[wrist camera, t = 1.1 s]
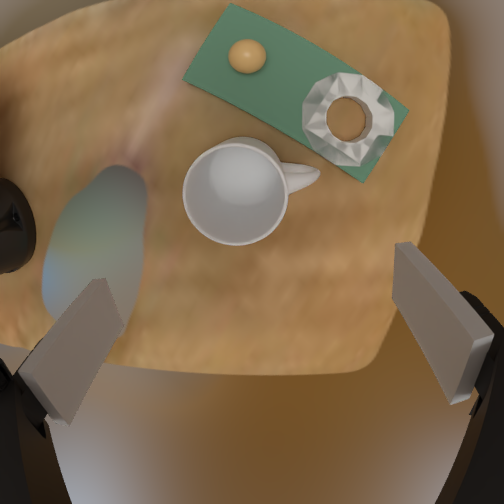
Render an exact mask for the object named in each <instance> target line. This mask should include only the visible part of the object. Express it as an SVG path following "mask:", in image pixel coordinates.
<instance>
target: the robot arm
mask: <svg viewBox="0 0 504 504" xmlns="http://www.w3.org/2000/svg"><path fill="white" fill-rule="evenodd" d="M35 241H36V232H35V224H34V219H33V216H32V212H31V210H30V207H29V205H28V203H27V201H26V199H25V197H24V195H23V194H22V193H21V191H20V190H19V189H18V188H17V187H16V186H15V185H14V184H13V183H12V182H10V181H9V180H7V179H4V178H0V274H3V273H11V272H14V271H16V270H18V269H20V268H21V267H22V266H23V265H25V264H26V263H27V262H28V261H29V260H30V258H31V257H32V255H33V252H34V248H35ZM392 299H393V301H394V303H395V304H396V306H397V308H398V309H399V311H400V313H401V314H402V316H403V318H404V319H405V321H406V323H407V324H408V326H409V328H410V330H411V332H412V333H413V335H414V337H415V339H416V340H417V342H418V344H419V346H420V348H421V349H422V351H423V353H424V355H425V356H426V359H427V361H428V362H429V364H430V366H431V368H432V370H433V372H434V374H435V375H436V378H437V380H438V382H439V384H440V385H441V387H442V389H443V391H444V393H445V395H446V398H447V400H448V401H449V404H450V405H451V404H454V403H457V402H460V401H463V400H466V399H469V397H470V395H471V393H472V390H473V388H474V386H475V388H476V390H477V391H478V393H479V396H478V398H477V400H476V402H475V404H474V406H473V408H472V410H471V412H470V414H469V415H472V416H471V419H470V422H469V425H468V428H467V431H466V434H465V436H464V439H463V442H462V444H461V447H460V450H459V452H458V454H457V457H456V459H455V462H454V464H453V466H452V469H451V471H450V473H449V476H448V478H447V480H446V482H445V484H444V486H443V488H442V491H441V492H440V495H439V496H438V499H437V500H436V502H435V504H504V327H503V326H502V325H501V324H500V323H499V322H498V320H497V319H496V318H495V317H494V316H493V315H492V314H491V313H490V311H489V310H488V309H487V308H486V307H484V305H483V303H481V301H480V300H479V299H478V298H477V297H476V296H474V295H472V294H471V293H469V292H467V291H463V292H458V291H457V290H456V288H455V287H454V286H453V285H452V284H451V283H450V282H449V281H448V280H447V279H446V278H445V277H444V275H443V274H442V273H441V272H440V271H439V270H438V269H437V268H436V267H435V266H434V265H433V264H432V263H431V262H430V261H429V260H428V259H427V258H426V257H425V256H424V255H423V254H422V253H421V252H420V251H419V250H418V249H417V248H416V247H415V246H414V245H413V244H412V243H411V242H404V243H396V244H395V257H394V276H393V290H392ZM123 327H124V324H123V322H122V319H121V318H120V315H119V313H118V310H117V307H116V305H115V302H114V299H113V297H112V294H111V292H110V289H109V286H108V284H107V281H106V278H102V279H94V280H92V281H91V282H90V283H89V284H88V286H87V287H86V288H85V289H84V290H83V291H82V292H81V294H80V295H79V296H78V297H77V298H76V299H75V300H74V301H73V303H72V304H71V305H70V306H69V307H68V308H67V310H66V311H65V312H64V313H63V314H62V316H61V317H60V318H59V319H58V320H57V322H56V323H55V324H54V325H53V326H52V328H51V329H50V330H49V331H48V333H47V334H46V335H45V336H44V338H42V339H41V340H40V341H39V342H38V343H37V345H36V346H35V347H34V350H32V351H31V352H30V354H29V356H27V358H26V359H25V360H24V362H23V363H22V364H21V366H20V367H19V368H18V370H17V371H16V372H15V374H14V375H13V376H12V374H11V373H10V371H9V370H8V368H7V366H6V365H5V363H4V362H3V360H2V359H1V358H0V504H72V502H71V500H70V497H69V494H68V491H67V488H66V485H65V483H64V480H63V476H62V473H61V470H60V467H59V464H58V460H57V456H56V453H55V449H54V445H53V442H52V438H51V433H50V429H49V425H48V424H47V422H46V421H45V419H44V418H45V417H46V415H47V413H48V414H49V416H50V417H51V419H52V420H53V421H54V422H55V423H56V424H61V425H65V426H70V424H71V422H72V420H73V418H74V416H75V414H76V412H77V411H78V409H79V407H80V405H81V403H82V400H83V399H84V397H85V395H86V393H87V391H88V389H89V387H90V385H91V384H92V382H93V380H94V378H95V376H96V374H97V373H98V370H99V369H100V367H101V365H102V364H103V362H104V360H105V358H106V356H107V355H108V353H109V351H110V349H111V347H112V346H113V344H114V342H115V340H116V339H117V337H118V335H119V334H120V332H121V330H122V328H123Z"/></svg>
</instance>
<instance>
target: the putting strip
mask: <svg viewBox="0 0 504 504" xmlns="http://www.w3.org/2000/svg"><path fill="white" fill-rule="evenodd" d="M243 39H252V40H255V41H257V42H259V43H260V44H261V45H262V46H263V47H264V49H265V51H266V61H265V63H264V65H263V67H262V68H261V69H259V70H258V71H256V72H254V73H248V74H246V73H241V72H238V71H236V70H235V69H234V68H233V67H232V66H231V64H230V62H229V59H228V54H229V50H230V48H231V47H232V45H233V44H235V43H236V42H237V41H240V40H243ZM182 80H184V81H186V82H188V83H190V84H192V85H194V86H197V87H199V88H201V89H203V90H205V91H207V92H209V93H211V94H213V95H215V96H217V97H219V98H221V99H223V100H225V101H227V102H229V103H231V104H233V105H235V106H236V107H238V108H240V109H242V110H244V111H246V112H248V113H250V114H251V115H253V116H255V117H257V118H259V119H260V120H262V121H264V122H266V123H268V124H269V125H271V126H273V127H275V128H276V129H278V130H280V131H281V132H283V133H285V134H287V135H288V136H290V137H292V138H293V139H295V140H297V141H298V142H300V143H302V144H303V145H305V146H306V147H308V148H310V149H311V150H313V151H315V152H316V153H318V154H319V155H321V156H322V157H324V158H326V159H327V160H329V161H330V162H332V163H333V164H335V165H336V166H338V167H339V168H341V169H342V170H344V171H345V172H347V173H348V174H350V175H351V176H353V177H354V178H356V179H357V180H359V181H360V182H361V183H364V182H365V180H366V178H367V177H368V175H369V174H370V172H371V171H372V169H373V168H374V166H375V165H376V163H377V162H378V160H379V158H380V157H381V155H382V154H383V152H384V151H385V149H386V147H387V146H388V144H389V143H390V141H391V139H392V138H393V136H394V135H395V133H396V131H397V130H398V128H399V127H400V125H401V123H402V122H403V120H404V118H405V117H406V115H407V113H408V112H409V110H408V109H407V108H406V107H405V106H403V105H402V104H401V103H400V102H398V101H397V100H396V99H395V98H393V97H392V96H391V95H389V94H388V93H387V92H386V91H384V90H383V89H381V88H380V87H379V86H377V85H376V84H375V83H373V82H372V81H371V80H369V79H368V78H366V77H365V76H363V75H362V74H361V73H359V72H358V71H356V70H355V69H353V68H352V67H350V66H349V65H347V64H346V63H344V62H342V61H341V60H339V59H338V58H336V57H335V56H333V55H331V54H330V53H328V52H326V51H325V50H323V49H322V48H320V47H318V46H316V45H315V44H313V43H311V42H309V41H308V40H306V39H304V38H302V37H301V36H299V35H297V34H295V33H293V32H291V31H289V30H288V29H286V28H284V27H282V26H280V25H278V24H276V23H274V22H272V21H270V20H268V19H265V18H263V17H261V16H259V15H257V14H255V13H253V12H250V11H248V10H246V9H244V8H241V7H239V6H237V5H234V4H232V3H230V4H229V5H228V7H227V8H226V10H225V11H224V13H223V14H222V16H221V17H220V19H219V20H218V22H217V23H216V25H215V26H214V28H213V29H212V31H211V32H210V34H209V35H208V37H207V38H206V40H205V42H204V43H203V45H202V46H201V48H200V50H199V51H198V53H197V55H196V56H195V58H194V60H193V61H192V63H191V65H190V66H189V68H188V70H187V72H186V73H185V75H184V77H183V79H182ZM340 97H345V98H351V99H353V100H354V101H356V102H357V103H358V104H360V105H361V107H362V109H363V111H364V113H365V115H366V126H365V128H364V130H363V132H362V133H361V135H360V136H359V137H357V138H355V139H353V140H351V141H341V140H339V139H338V138H336V137H334V136H333V135H332V133H331V132H330V130H329V128H328V126H327V124H326V115H327V110H328V108H329V106H330V105H331V103H332V102H333V101H334V100H336V99H338V98H340Z"/></svg>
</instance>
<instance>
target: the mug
mask: <svg viewBox="0 0 504 504" xmlns="http://www.w3.org/2000/svg"><path fill="white" fill-rule="evenodd" d="M319 176H320V171H319V170H318V169H316V168H314V167H311V166H308V165H302V164H294V163H283V162H280V160H279V158H278V156H277V155H276V153H275V152H274V151H273V150H272V148H271V147H269V146H268V145H267V144H266V143H264V142H262V141H260V140H258V139H255V138H252V137H234V138H231V139H228V140H225V141H224V142H222V143H220V144H218V145H216V146H214V147H213V148H211V149H209V150H207V151H205V152H204V153H203V154H201V155H200V156H199V157H198V158H197V159H196V160H195V161H194V162H193V164H192V165H191V166H190V168H189V170H188V172H187V174H186V176H185V179H184V183H183V203H184V207H185V211H186V213H187V215H188V217H189V219H190V221H191V222H192V224H193V225H194V226H195V227H196V228H197V229H198V230H199V231H200V232H201V233H202V234H203V235H205V236H206V237H208V238H209V239H211V240H213V241H216V242H218V243H221V244H226V245H234V246H239V245H247V244H251V243H254V242H257V241H259V240H261V239H263V238H265V237H266V236H268V235H269V234H270V233H271V232H273V231H274V230H275V228H276V227H277V226H278V225H279V223H280V222H281V220H282V218H283V217H284V214H285V212H286V209H287V204H288V195H289V194H291V193H293V192H296V191H298V190H300V189H302V188H304V187H307V186H308V185H310V184H312V183H313V182H315V181H316V180H317V179H318V178H319Z"/></svg>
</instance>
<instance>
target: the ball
mask: <svg viewBox="0 0 504 504" xmlns="http://www.w3.org/2000/svg"><path fill="white" fill-rule="evenodd" d="M228 59H229V62H230V64H231V66H232V67H233V68H234V69H235V70H236V71H238V72H241V73H246V74H248V73H254V72H256V71H258V70H259V69H261V68H262V67H263V65H264V63H265V61H266V51H265V49H264V47H263V46H262V45H261V44H260V43H259V42H257V41H255V40H252V39H243V40H240V41H237V42H236V43H235V44H233V45H232V47H231V48H230V50H229V54H228Z"/></svg>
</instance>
